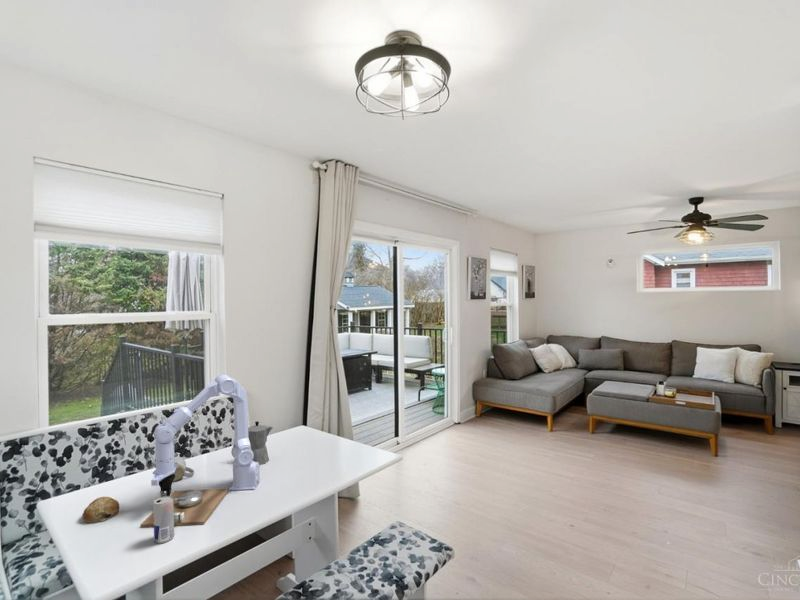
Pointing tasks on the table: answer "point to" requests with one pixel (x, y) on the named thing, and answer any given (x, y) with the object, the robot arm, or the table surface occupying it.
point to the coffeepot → (259, 442)
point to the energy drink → (163, 519)
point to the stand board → (193, 508)
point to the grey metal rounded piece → (186, 498)
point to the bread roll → (101, 510)
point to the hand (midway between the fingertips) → (166, 496)
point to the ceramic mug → (182, 469)
